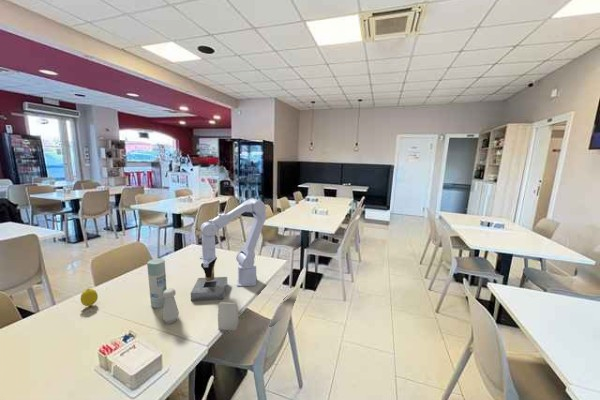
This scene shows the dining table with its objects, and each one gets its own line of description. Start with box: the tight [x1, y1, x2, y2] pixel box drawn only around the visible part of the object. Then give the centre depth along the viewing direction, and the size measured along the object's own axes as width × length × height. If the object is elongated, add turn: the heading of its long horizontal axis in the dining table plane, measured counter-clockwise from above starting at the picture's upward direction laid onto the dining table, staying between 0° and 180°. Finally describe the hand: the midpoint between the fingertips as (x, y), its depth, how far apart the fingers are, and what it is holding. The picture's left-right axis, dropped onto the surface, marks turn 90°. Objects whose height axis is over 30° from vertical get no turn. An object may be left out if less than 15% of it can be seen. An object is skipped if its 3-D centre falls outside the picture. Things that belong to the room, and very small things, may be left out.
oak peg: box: [204, 263, 215, 281], centre depth 119 cm, size 4×4×7 cm
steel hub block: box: [190, 276, 228, 302], centre depth 121 cm, size 14×14×4 cm
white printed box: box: [217, 302, 239, 331], centre depth 97 cm, size 4×7×10 cm, turn 88°
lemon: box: [80, 288, 99, 307], centre depth 107 cm, size 6×6×8 cm
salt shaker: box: [162, 288, 180, 324], centre depth 99 cm, size 6×6×13 cm
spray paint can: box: [146, 257, 168, 309], centre depth 109 cm, size 6×6×20 cm
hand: (209, 275), depth 120 cm, fingers closed on oak peg, 4 cm apart
